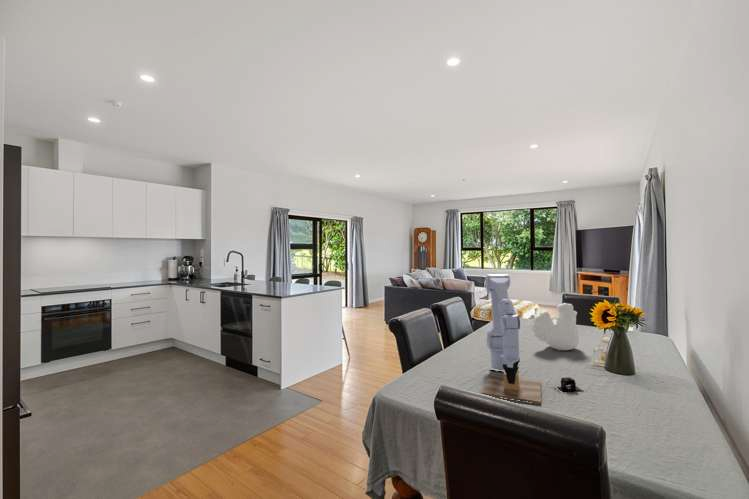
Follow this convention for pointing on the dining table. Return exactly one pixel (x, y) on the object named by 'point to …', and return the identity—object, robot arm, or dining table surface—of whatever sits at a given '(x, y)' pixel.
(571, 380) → the black winged block
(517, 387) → the tan wooden cube
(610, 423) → the dining table surface
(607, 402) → the dining table surface
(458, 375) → the dining table surface
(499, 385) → the base board
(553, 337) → the decorative rooster
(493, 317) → the robot arm
